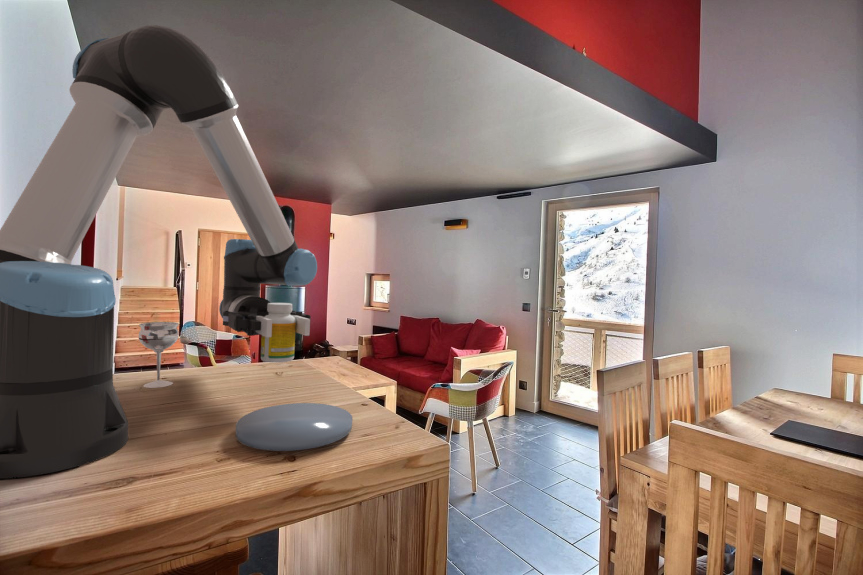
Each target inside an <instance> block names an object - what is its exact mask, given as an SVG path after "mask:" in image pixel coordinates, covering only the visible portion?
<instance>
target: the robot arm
mask: <svg viewBox="0 0 863 575" xmlns="http://www.w3.org/2000/svg"><path fill="white" fill-rule="evenodd" d="M71 72H72V79H73V82H72V83H71V85H70V87H69V94H70V97H71V98H72V100H73V102H74V105H73V107H72V109H71V111H70V113H69V115H68V116H67V118H66V119H65V121H64V123H63V124H62V125H61V127H60V129H59V131H58V132H57V134H56V136H55V137H54V139H53V141H52V143H51V144H50V146H49V148H48V149H47V151H46V153H45V154H44V155H43V158H42V159H41V161H40V163H39V165H38V166H37V167H36V169H35V171H34V173H33V174H32V175H31V177H30V179H29V181H28V183H27V184H26V186H25V188H24V190H23V191H22V193H21V194H20V196H19V198H17V201H16V202H15V204H14V206H13V208H12V209H11V211H10V213H9V214H8V216H7V217H6V220H5V221H4V223H3V224H2V225H1V227H0V479H15V478H16V477H17V478H26V477H27V478H28V477H34V476H39V475H41V476H42V475H44V474H50V473H55V472H59V471H64V470H69V469H72V468H75V467H76V468H77V467H79V466H82V465H83V466H84V465H86V464H89V463H91V462H94V461H97V460H100V459H102V458H104V457H107V456H109V455H111V454H113V453H115V452H117V451H118V450H120V449H121V448H122V447H124V446H125V445H126V443H127V442H128V440H129V421H128V418H127V416H126V414H125V411H124V409H123V406H122V404H121V401H120V399H119V396H118V393H117V391H116V388H115V386H114V379H113V378H114V339H115V338H114V337H115V336H114V335H115V333H114V332H115V331H114V329H115V328H114V326H115V305H116V302H117V301H116V299H117V298H116V295H115V289H114V281H113V278H112V276H111V275H110V274H109V273H108V271H105V270H102V269H100V268H98V267H93V266H88V265H83V264H82V265H81V264H72V261H73V259H74V257H75V256H76V253H77V252H78V249H79V247H80V246H81V243H82V242H83V240H84V239H85V236H86V234H87V232H88V231H89V228H90V227H91V224H92V223H93V221H94V220H95V217H96V215H97V213H98V212H99V210H100V208H101V205H102V204H103V202H104V200H105V198H106V196H107V194H108V193H109V190H110V189H111V187H112V184H113V183H114V181H115V179H116V177H117V175H118V173H119V172H120V169H121V167H122V166H123V164H124V163H125V160H126V158H127V156H128V155H129V152H130V150H131V148H132V146H133V145H134V143H135V141H136V139H137V138H138V137H144V136H149V135H150V134H152V133H153V131H154V128H155V127H156V124H158V120H159V119H160V117H161V114H162V113H163V112H164V111H165V110H167V109H172V111H173V112H174V113H175V115H176V117H177V119H178V121H179V122H180V124H181V125H182V126H185V127H187V128H188V129H191V131H192V133H193V135H194V137H195V138H196V140H197V142H198V143H199V146H200V147H201V149H202V151H203V153H204V155H205V157H206V159H207V160H208V163H209V164H210V166H211V168H212V170H213V172H214V173H215V176H216V177H217V179H218V181H219V182H220V185H221V186H222V189H223V191H224V192H225V194H226V196H227V197H228V200H229V201H230V203H231V205H232V207H233V209H234V210H235V212H236V215H237V217H238V218H239V220H240V222H241V223H242V226H243V228H244V230H245V231H246V233H247V235H248V236H249V239H243V238H242V239H240V238H230V239H228V240H227V241H226V243H225V251H224V256H223V260H224V266H223V269H224V270H223V271H224V272H223V289H222V299H221V301H220V303H219V308H218V310H219V314H220V317H221V318H222V326H225V327H229V328H230V329H231V330H233V331H235V332H238V333H239V332H243V333H245V334H246V335H247V336H248V337H249V336H260V335H261V336H262V335H263V336H265V337H272V320H271V319H268V318H265V316H266V315H269V312H268V311H267V304H268V303H272V302H271V301H269V300H268V299H267V298H264V297H261V288H262V287H261V285H262V284H264V285H277V286H278V285H281V286H288V287H295V286H297V287H298V286H300V287H301V286H306V285H308V284H311V282H312V281H313V280H314V279H315V278H316V275H317V272H318V261H317V258H316V256H315V254H314V253H312V252H311V251H310V250H309V249H304V248H299V247H298V244H297V242H296V240H295V238H294V236H293V233H292V232H291V229H290V227H289V225H288V223H287V221H286V219H285V216H284V214H283V212H282V210H281V208H280V206H279V204H278V202H277V199H276V197H275V195H274V192H273V190H272V189H271V187H270V184H269V182H268V180H267V178H266V176H265V174H264V172H263V170H262V167H261V165H260V163H259V160H258V158H257V157H256V155H255V152H254V150H253V148H252V146H251V144H250V141H249V139H248V138H247V136H246V134H245V131H244V129H243V127H242V124H241V123H240V120H239V118H238V117H237V111H238V107H239V103H238V101H237V99H236V97H235V95H234V92H233V91H232V88H231V87H230V85H229V82H228V81H227V78H226V77H225V76H224V75H223V72H221V70H220V69H219V68H218V66H217V65H216V64H215V62H214V61H213V60H212V58H211V57H210V56H209V55H208V54H207V53H206V52H205V50H204V49H202V47H200V46H199V45H198V44H197V43H196V42H195V41H193V39H191V38H189V37H188V36H186V35H185V34H183V33H182V32H180V31H177V30H176V29H173V28H171V27H168V26H164V25H157V24H149V25H148V24H147V25H143V26H140V27H137V28H134V29H132V30H130V31H126V32H123V33H121V34H120V33H119V34H118V35H114V36H111V37H103V38H99V39H97V40H95V41H92V42H90V43H88V44H87V45H85V46H84V47H83V48H82V49H80V51H79V52H78V53H77V54H76V55H75V57H74V60H73V63H72V71H71ZM290 315H292V316H293V317H294V318H295V319H296V327H295V334H300V335H303V336H307V337H309V336H310V333H311V332H310V330H311V315H310V314H306V313H303V311H295V310H292V312H290ZM13 477H14V478H13ZM17 478H16V479H17Z"/></svg>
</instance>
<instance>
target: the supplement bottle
mask: <svg viewBox="0 0 863 575" xmlns="http://www.w3.org/2000/svg"><path fill="white" fill-rule="evenodd" d="M267 311H268V312H269V315H266V316H265V318H268V319H271V320H272V337H265V336H263V335H261V340H260V341H261V343H260V344H261V345H260V359H261V361H262V362H264V363H287V362H288V363H289V362H291V361H293V360H294V358H295V347H296V345H295V344H296V342H295V341H296V332H295V327H296V319H295V318H294V317H293V316H292V315H290V312H292V311H293V303H290V302H271V303H268V304H267Z"/></svg>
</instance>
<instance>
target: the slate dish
mask: <svg viewBox="0 0 863 575" xmlns="http://www.w3.org/2000/svg"><path fill="white" fill-rule="evenodd" d="M352 428H353V415H352V414H351V413H350V412H349V411H348V410H346V409H344V408H342V407H339V406H335V405H331V404H327V403H326V404H324V403H318V402H317V403H315V402H299V403H298V402H296V403H284V404H277V405H272V406H267V407H263V408H260V409H257V410H254V411H250V412H248V413H246V414H245V415H243V416H242V417H241V418H239V419H238V420H237V422H236V424H235V437H236V440H238V442H240V443H241V444H242V445H244V446H247V447H250V448H254V449H256V450H257V449H258V450H263V451H273V452H275V451H276V452H278V451H279V452H288V451H290V452H291V451H292V452H293V451H302V450H303V451H304V450H308V449H309V450H310V449H313V448H319V447H323V446H327V445H330V444H332V443H335V442H337V441H340V440H342V439H343V438H345V437H346V436H347V435H349V434H350V432H351V431H352V430H353V429H352Z"/></svg>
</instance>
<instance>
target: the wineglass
mask: <svg viewBox="0 0 863 575" xmlns="http://www.w3.org/2000/svg"><path fill="white" fill-rule="evenodd" d="M179 324H180V323H179V322H173V321H172V322H171V321H155V322H152V321H151V322H142V323H139V324H138V326H139V327H140V329H139V331H138V340H139V342H140V344H142V345H143V347H145V348H146V349H150V350H151V351H153V352H154V353H156V375H157V376H156V377H157V378H156V380H154V381H150V382H147V383H145V384H143V385H142V386H143V387H144V388H149V389H151V388H152V389H155V388H164V387H169V386H172V385H173V384H174V382H172V381H168V380H162V379H160V378H161V377H160V376H161V365H162V364H161V362H162V361H161V359H162V353H163V352H164V351H165V350H167V349H169V348H170V347H172V346H173V345H174V344H175V343H176V342H177V341H178V339H179V336H180V335H179V334H180V333H179V329H178V326H179Z"/></svg>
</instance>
